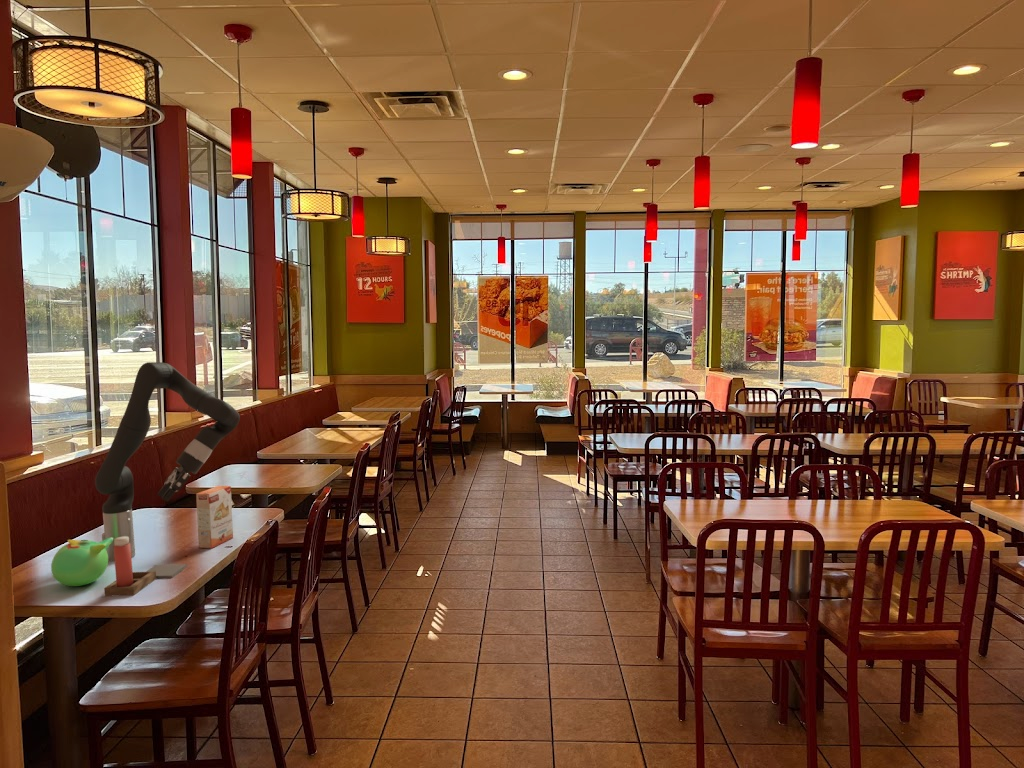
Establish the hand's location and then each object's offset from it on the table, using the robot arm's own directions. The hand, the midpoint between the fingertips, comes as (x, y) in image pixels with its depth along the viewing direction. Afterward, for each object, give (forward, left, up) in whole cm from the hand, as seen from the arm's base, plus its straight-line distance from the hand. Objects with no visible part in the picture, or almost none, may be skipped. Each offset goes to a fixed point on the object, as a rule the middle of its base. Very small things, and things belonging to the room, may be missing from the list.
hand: (162, 498), depth 228 cm
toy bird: (-27, 0, -28) cm, 39 cm away
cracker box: (0, +40, -28) cm, 49 cm away
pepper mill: (-9, -8, -27) cm, 30 cm away
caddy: (-9, -5, -27) cm, 29 cm away
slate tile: (-5, +8, -27) cm, 29 cm away
